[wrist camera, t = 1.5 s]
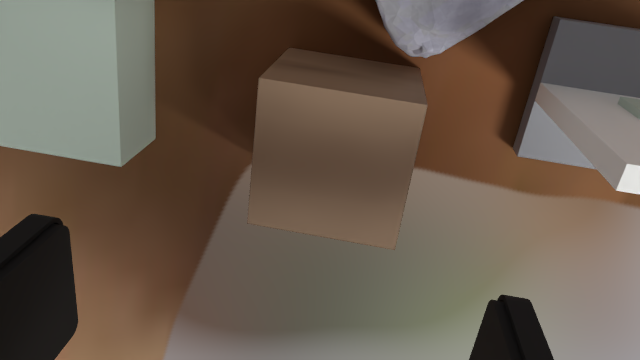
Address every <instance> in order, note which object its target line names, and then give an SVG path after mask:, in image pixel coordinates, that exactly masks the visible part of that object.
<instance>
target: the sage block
mask: <svg viewBox="0 0 640 360" xmlns="http://www.w3.org/2000/svg"><path fill="white" fill-rule="evenodd" d="M155 139H156V125H155V7H154V0H0V146H4V147H9V148H15V149H21V150H27V151H32V152H38V153H44V154H50V155H55V156H61V157H67V158H73V159H78V160H84V161H90V162H96V163H101V164H107V165H113V166H119V167H122V166H123V165H124V164H125V163H127V162H128V161H129V160H130V159H132V158H133V157H134V156H135V155H136V154H138V153H139V152H140V151H141V150H143V149H144V148H145V147H146V146H147V145H149V144H150V143H151V142H152V141H154V140H155Z"/></svg>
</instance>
